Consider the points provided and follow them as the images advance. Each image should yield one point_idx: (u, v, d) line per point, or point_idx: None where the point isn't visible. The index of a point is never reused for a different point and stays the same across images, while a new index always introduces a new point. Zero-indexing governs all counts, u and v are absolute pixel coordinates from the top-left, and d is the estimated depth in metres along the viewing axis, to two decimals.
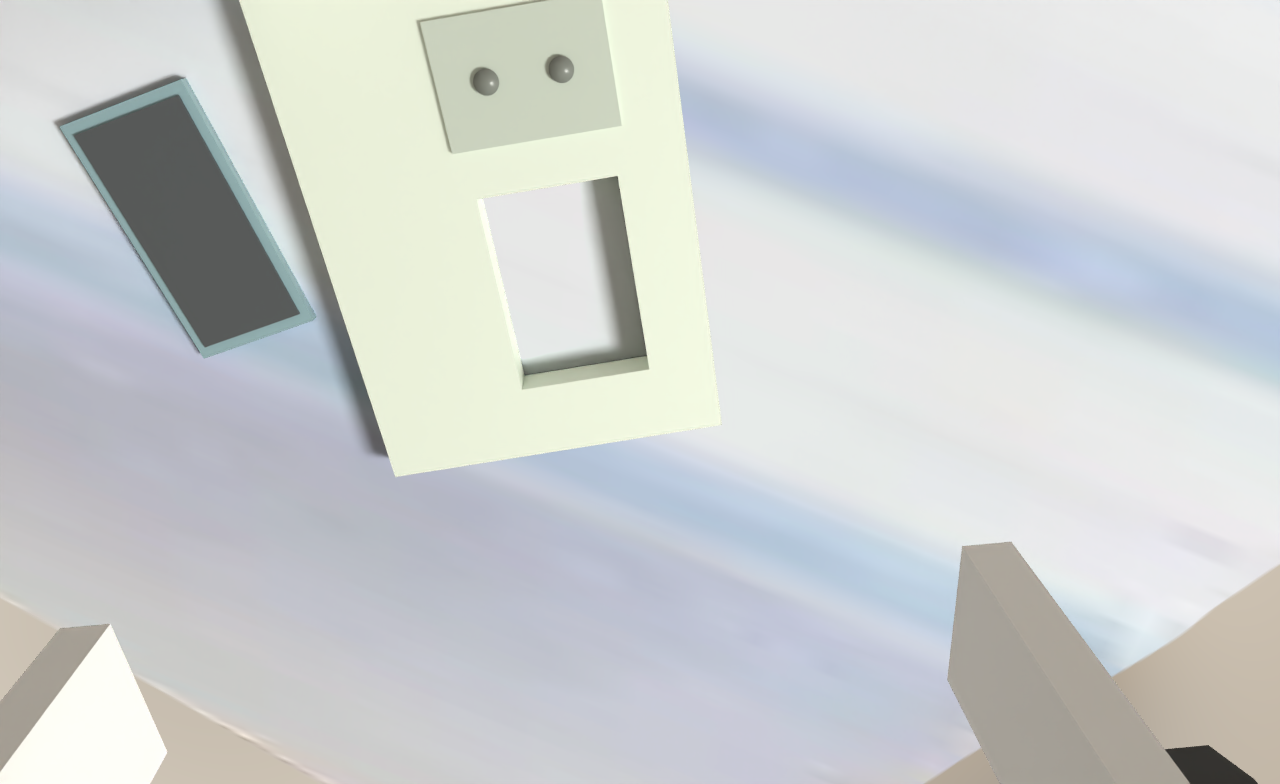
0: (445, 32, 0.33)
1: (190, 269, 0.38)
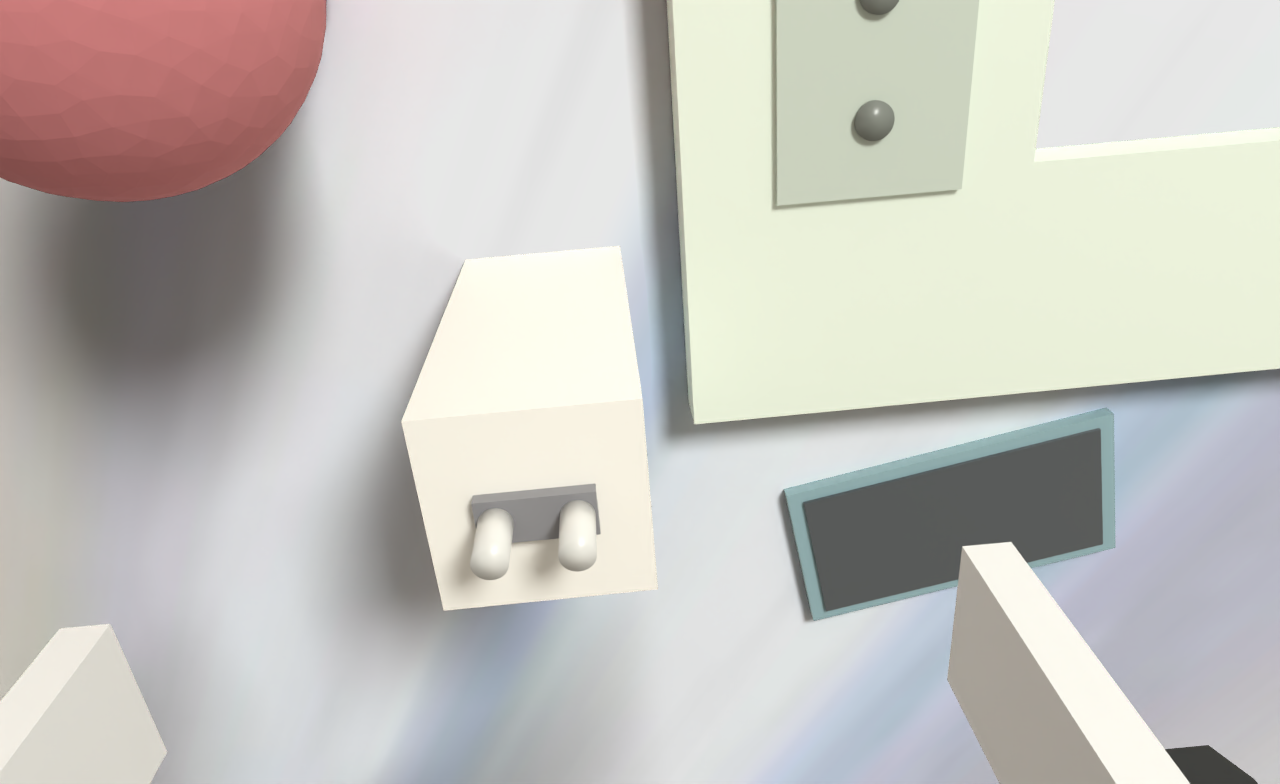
0: (796, 171, 0.23)
1: (1002, 536, 0.30)
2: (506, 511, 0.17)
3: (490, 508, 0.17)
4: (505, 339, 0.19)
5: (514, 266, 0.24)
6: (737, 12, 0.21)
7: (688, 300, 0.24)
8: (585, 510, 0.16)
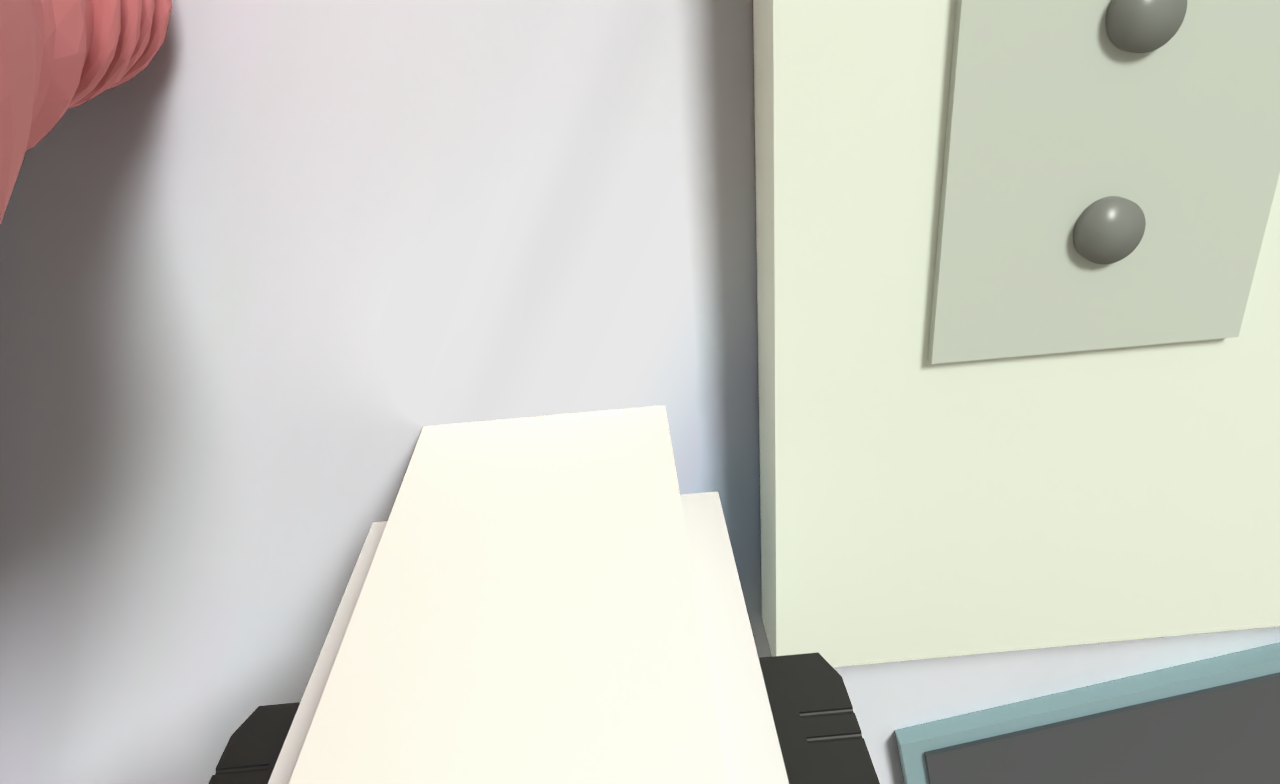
0: (967, 310, 0.13)
1: None
2: None
3: None
4: (467, 671, 0.10)
5: (497, 447, 0.15)
6: (886, 49, 0.12)
7: (776, 501, 0.15)
8: None
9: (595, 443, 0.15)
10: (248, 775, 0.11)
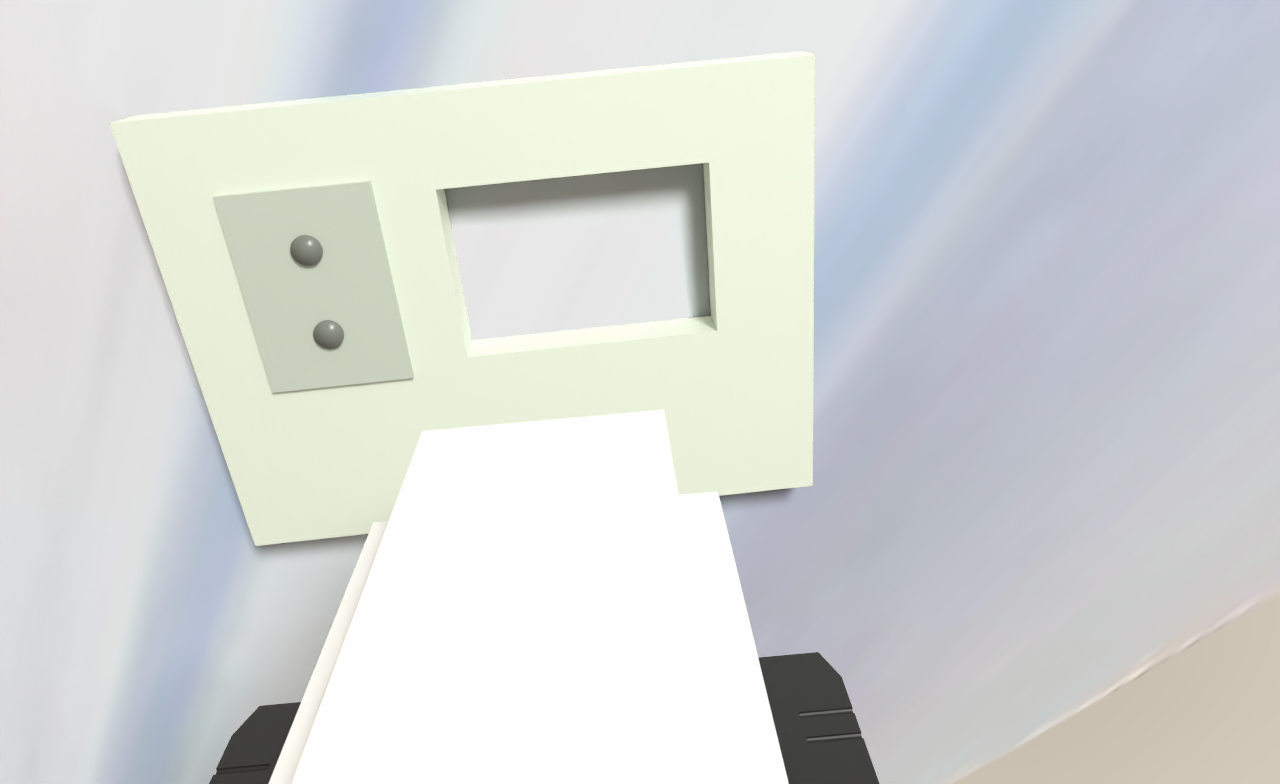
0: (280, 369, 0.30)
1: None
2: None
3: None
4: (467, 679, 0.10)
5: (496, 452, 0.15)
6: (207, 264, 0.29)
7: (225, 458, 0.32)
8: None
9: (594, 448, 0.15)
10: (249, 775, 0.11)
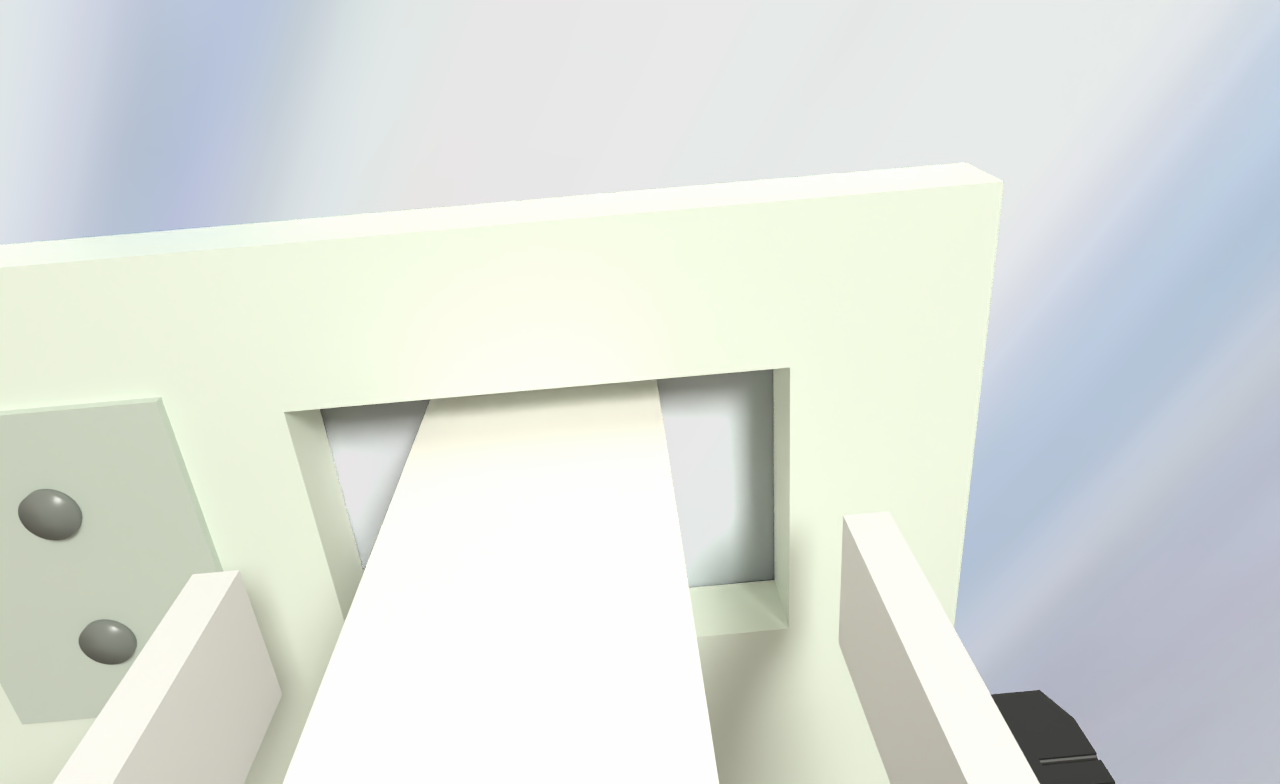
0: (30, 691, 0.17)
1: None
2: None
3: None
4: (472, 607, 0.11)
5: (500, 418, 0.16)
6: None
7: None
8: None
9: (591, 413, 0.16)
10: None
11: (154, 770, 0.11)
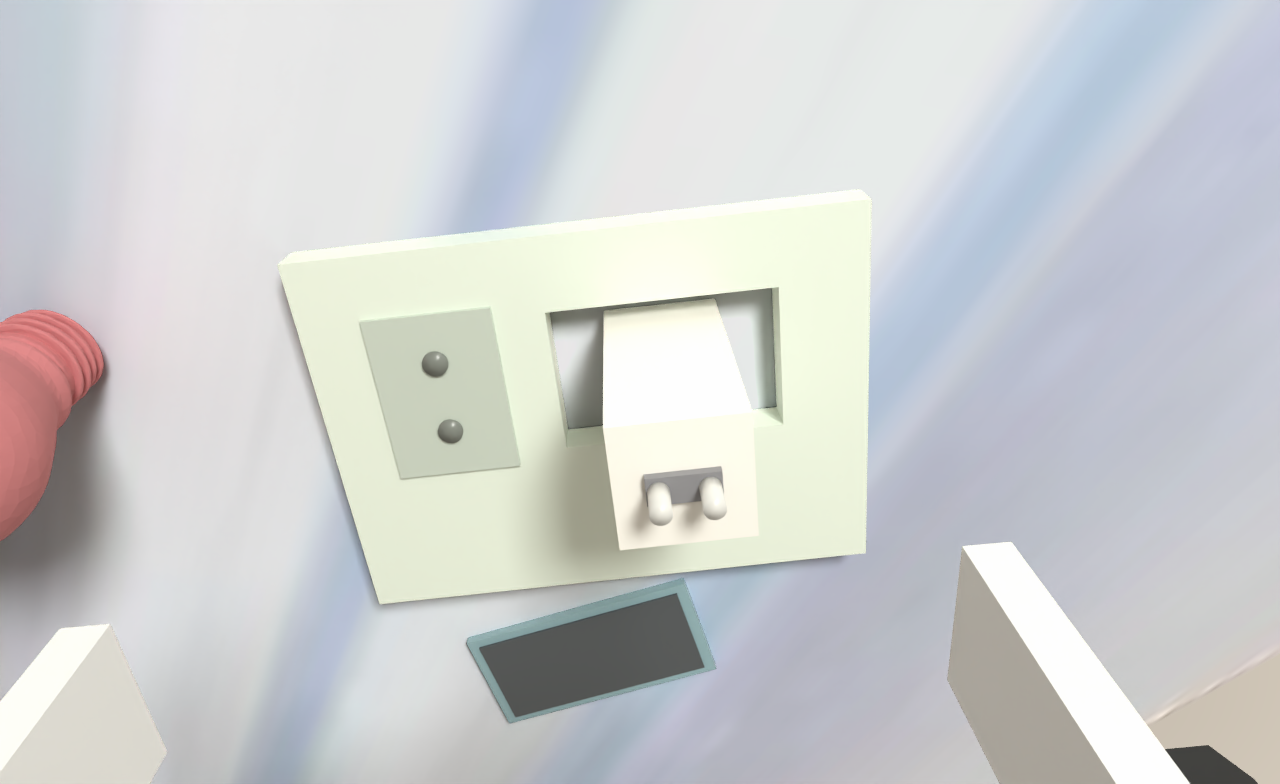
0: (408, 459, 0.35)
1: (630, 664, 0.42)
2: (665, 484, 0.26)
3: (655, 482, 0.26)
4: (652, 372, 0.29)
5: (641, 316, 0.34)
6: (351, 375, 0.34)
7: (358, 531, 0.37)
8: (717, 483, 0.26)
9: (684, 312, 0.33)
10: None
11: None
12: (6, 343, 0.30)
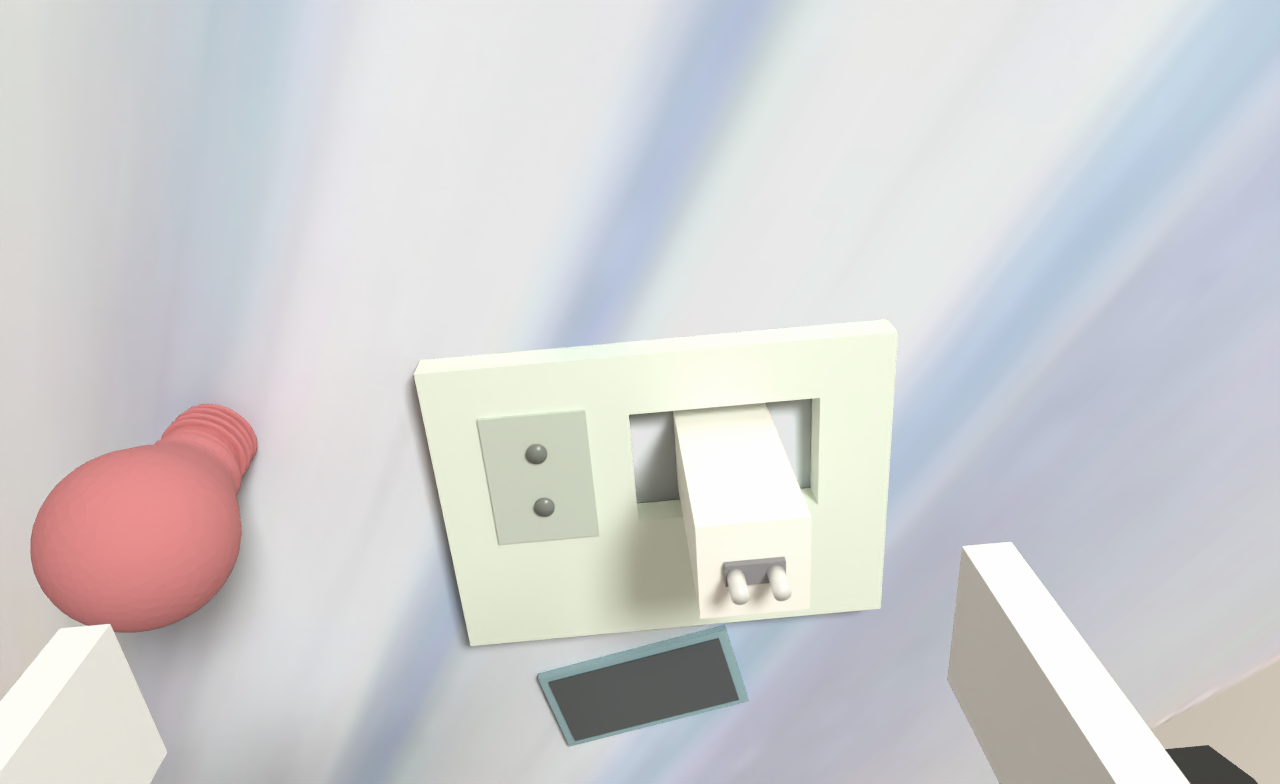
0: (506, 529, 0.42)
1: (676, 697, 0.50)
2: (741, 570, 0.34)
3: (733, 568, 0.33)
4: (725, 475, 0.36)
5: (706, 416, 0.41)
6: (465, 461, 0.41)
7: (458, 586, 0.44)
8: (782, 571, 0.33)
9: (742, 415, 0.41)
10: None
11: None
12: (195, 438, 0.37)
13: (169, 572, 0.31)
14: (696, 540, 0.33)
